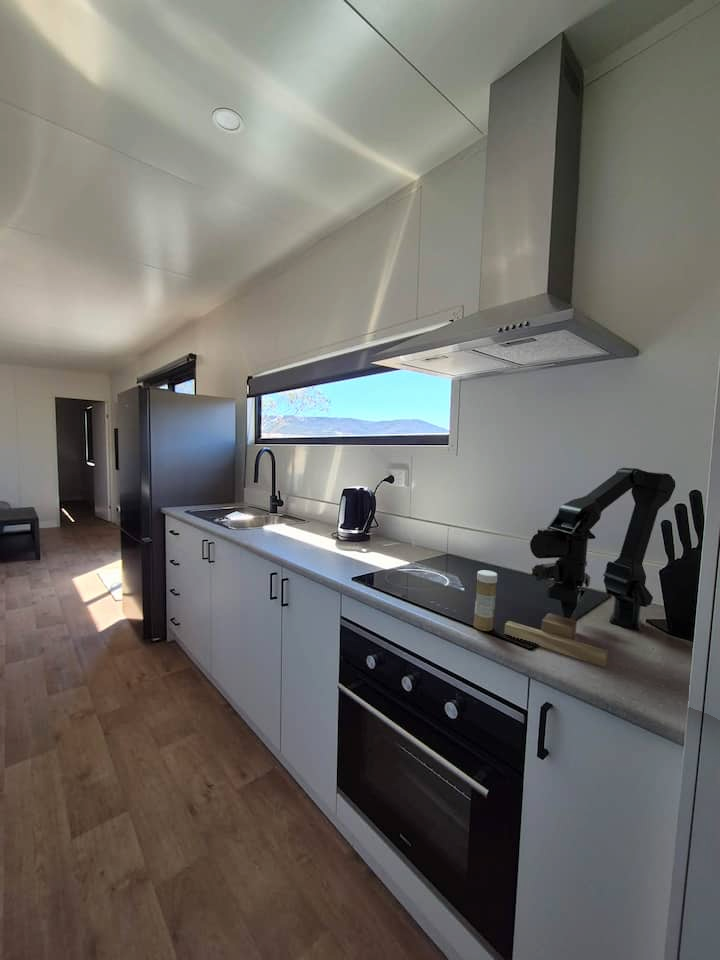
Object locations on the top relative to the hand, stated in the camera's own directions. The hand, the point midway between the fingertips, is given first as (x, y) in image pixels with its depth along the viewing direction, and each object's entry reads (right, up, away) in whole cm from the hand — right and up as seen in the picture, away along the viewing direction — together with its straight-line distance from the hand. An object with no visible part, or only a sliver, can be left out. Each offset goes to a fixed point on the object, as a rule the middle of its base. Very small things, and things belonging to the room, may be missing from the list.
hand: (566, 619), depth 97 cm
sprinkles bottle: (-21, -2, -2) cm, 21 cm away
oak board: (-8, -3, -10) cm, 13 cm away
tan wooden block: (-6, -3, -7) cm, 9 cm away
